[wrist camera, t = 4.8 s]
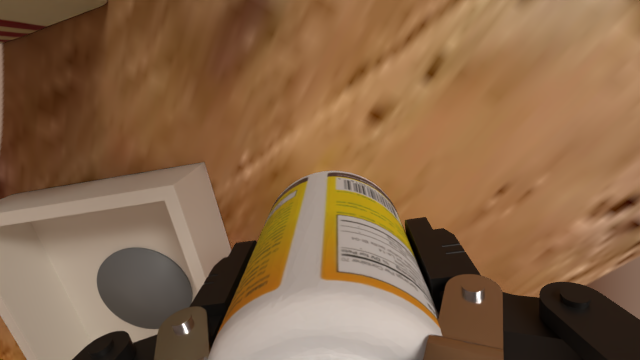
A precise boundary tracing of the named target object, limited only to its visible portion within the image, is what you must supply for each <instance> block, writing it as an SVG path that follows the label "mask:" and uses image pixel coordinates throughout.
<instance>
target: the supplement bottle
mask: <svg viewBox="0 0 640 360" xmlns="http://www.w3.org/2000/svg"><path fill="white" fill-rule="evenodd" d="M438 318H439V314H438V312H437V309H436V307H435V305H434V302H433V300H432V297H431V295H430V292H429V290H428V287H427V285H426V282H425V280H424V277H423V275H422V273H421V270H420V268H419V265H418V262H417V260H416V257H415V255H414V253H413V250H412V248H411V245H410V243H409V240H408V238H407V235H406V233H405V230H404V228H403V225H402V223H401V220H400V218H399V215H398V213H397V211H396V209H395V207H394V205H393V203H392V202H391V200H390V199H389V198H388V196H387V195H386V194H385V193H384V192H383V191H382V190H381V189H380V188H379V187H378V186H377V185H375V184H374V183H373V182H371V181H369V180H368V179H366V178H364V177H361V176H359V175H356V174H353V173H348V172H342V171H324V172H318V173H314V174H311V175H308V176H305V177H303V178H301V179H299V180H297V181H296V182H294V183H293V184H291V185H290V186H289V187H288V188H286V189H285V190H284V192H283V193H282V194H281V195H280V196H279V197H278V199H277V200H276V202H275V203H274V205H273V207H272V209H271V211H270V213H269V216H268V218H267V220H266V222H265V225H264V227H263V230H262V232H261V234H260V237H259V239H258V241H257V244H256V246H255V248H254V251H253V253H252V255H251V258H250V260H249V262H248V264H247V267H246V269H245V272H244V274H243V276H242V278H241V281H240V283H239V286H238V288H237V290H236V292H235V295H234V297H233V299H232V302H231V304H230V306H229V308H228V311H227V313H226V315H225V317H224V320H223V322H222V324H221V326H220V329H219V331H218V333H217V336H216V338H215V340H214V343H213V345H212V348H211V351H210V354H209V356H208V360H423V357H424V353H425V349H426V344H427V340H428V337H429V335H430V334H434V335H439V336H442V333H441V328H440V326H439V323H438Z"/></svg>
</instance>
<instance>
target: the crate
mask: <svg viewBox="0 0 640 360" xmlns="http://www.w3.org/2000/svg"><path fill="white" fill-rule="evenodd" d="M230 252H231V248H230V245H229V241H228V238H227V235H226V232H225V228H224V225H223V222H222V218H221V215H220V212H219V209H218V205H217V202H216V199H215V196H214V192H213V189H212V186H211V182H210V179H209V176H208V173H207V169H206V166H205V163H204V162H202V163H196V164H190V165H184V166H178V167H172V168H166V169H160V170H154V171H148V172H142V173H136V174H130V175H124V176H118V177H112V178H107V179H101V180H95V181H89V182H83V183H77V184H71V185H65V186H59V187H53V188H47V189H41V190H35V191H29V192H23V193H17V194H12V195H10V196H7V197H5V198H2V199H0V315H1V317H2V319H3V320H4V322H5V324H6V325H7V327H8V329H9V330H10V332H11V334H12V335H13V337H14V339H15V340H16V342H17V344H18V345H19V347H20V349H21V350H22V352H23V354H24V355H25V357H26V359H27V360H72V359H73V358H74V357H75V356H76V355H77V354H78V353H79V352H80V351H82V350H83V349H84V348H85V347H86V346H87V345H88V344H90V343H91V342H92V341H94V340H96V339H97V338H99V337H101V336H103V335H105V334H108V333H111V332H114V331H125V332H127V333H128V334H129V336H130V338H131V340H132V342H133V343H134V342H137V341H139V340H142V339H145V338H148V337H151V336H154V335H157V334H158V330H159V328H160V326H161V324H162V323H163V322H164V321H165V320H166V319H167V318H168V317H170V316H171V315H172V314H174V313H176V312H177V311H179V310H182V309H184V308H188V307H190V305H191V303H192V302H193V300H194V298H195V297H196V295H197V293H198V292H199V290H200V288H201V287H202V285H204V282H205V280H206V278H207V277H208V275H209V273H210V272H211V270H212V268H213V267H214V266H215V265H216V264H217V263H218V262H219V261H220V260H221V259H223V258H224V257H228V256H229V254H230Z"/></svg>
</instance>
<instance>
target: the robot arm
mask: <svg viewBox="0 0 640 360" xmlns="http://www.w3.org/2000/svg"><path fill="white" fill-rule="evenodd" d="M405 230H406V235H407V238H408V240H409V243H410V245H411V248H412V250H413V253H414V255H415V257H416V260H417V262H418V265H419V268H420V270H421V273H422V275H423V277H424V280H425V282H426V285H427V287H428V290H429V292H430V295H431V297H432V300H433V302H434V305H435V307H436V309H437V312H438V314H439V318H438V323H439V326H440V328H441V333H442V336H439V335H434V334H430V335H429V337H428V340H427V344H426V349H425V353H424V357H423V360H640V320H639V319H638V318H636V317H635V316H633V315H632V314H630V313H629V312H627V311H626V310H625V309H623V308H622V307H620V306H619V305H617V304H616V303H614V302H612V301H611V300H610V299H608V298H607V297H606V296H604V295H603V294H601V293H599V292H598V291H596V290H594V289H592V288H589V287H587V286H584V285H581V284H576V283H571V282H555V283H550V284H547V285H546V286H544V287H543V288H542V289H541V291H540V298H537V297H527V296H518V295H512V294H508V293H504V292H502V290H501V288H500V286H499V285H498V284H497V283H496V282H494V281H493V280H491V279H489V278H487V277H484V276H481V275H480V273H479V272H478V270H477V269H476V267H475V266H474V264H473V263H472V261H471V260H470V258H469V257H468V255H467V254H466V252H464V249H463V248H462V246H461V245H460V243H459V242H458V240H457V238H456V237H455V235H454V234H452V233H450V232H449V231H447V230H445V229H444V228H442V229H435V230H433V229H432V227H431V225H430V224H429V222H428V220H427V218H426V217H422V218H415V219H408V220H405ZM256 244H257V242H256V241H255V240H254V241H247V242H240V243H236V244H235V245H234V247H233V249H232V251H231V252H230V254H229V256H228V257H224V258H223V259H221V260H220V261H219V262H218V263H217V264H216V265H215V266H214V267H213V268H212V270H211V272H210V273H209V275H208V277H207V278H206V280H205V282H204V285H202V287H201V288H200V290H199V292H198V293H197V295H196V297H195V298H194V300H193V302H192V303H191V305H190V307H188V308H184V309H182V310H179V311H177V312H176V313H174V314H172V315H171V316H170V317H168V318H167V319H166V320H165V321H164V322H163V323H162V324H161V326H160V328H159V330H158V334H157V335H154V336H151V337H148V338H145V339H142V340H139V341H137V342H134V343H133V342H132V340H131V338H130V336H129V334H128V333H127V332H125V331H114V332H111V333H108V334H105V335H103V336H101V337H99V338H97V339H96V340H94V341H92V342H91V343H90V344H88V345H87V346H86V347H85V348H84V349H83V350H82V351H80V352H79V353H78V354H77V355H76V356H75V357H74V358H73V359H72V360H208V356H209V354H210V351H211V348H212V345H213V343H214V340H215V338H216V336H217V333H218V331H219V329H220V326H221V324H222V322H223V320H224V317H225V315H226V313H227V311H228V308H229V306H230V304H231V302H232V299H233V297H234V295H235V292H236V290H237V288H238V286H239V283H240V281H241V278H242V276H243V274H244V272H245V269H246V267H247V264H248V262H249V260H250V258H251V255H252V253H253V251H254V248H255V246H256Z"/></svg>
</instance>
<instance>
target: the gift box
mask: <svg viewBox="0 0 640 360" xmlns="http://www.w3.org/2000/svg"><path fill="white" fill-rule="evenodd" d="M106 3H107V0H0V43H3V42H7V41H11V40H14V39H16V38H19V37H22V36H25V35H28V34H30V33H33V32H35V31H38V30H40V29H43V28H45V27H47V26H49V25H52V24H55V23H58V22H60V21H63V20H66V19H68V18H71V17H74V16H77V15H79V14H82V13H84V12H87V11H90V10H92V9H95V8H98V7H100V6H102V5H104V4H106Z"/></svg>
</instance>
